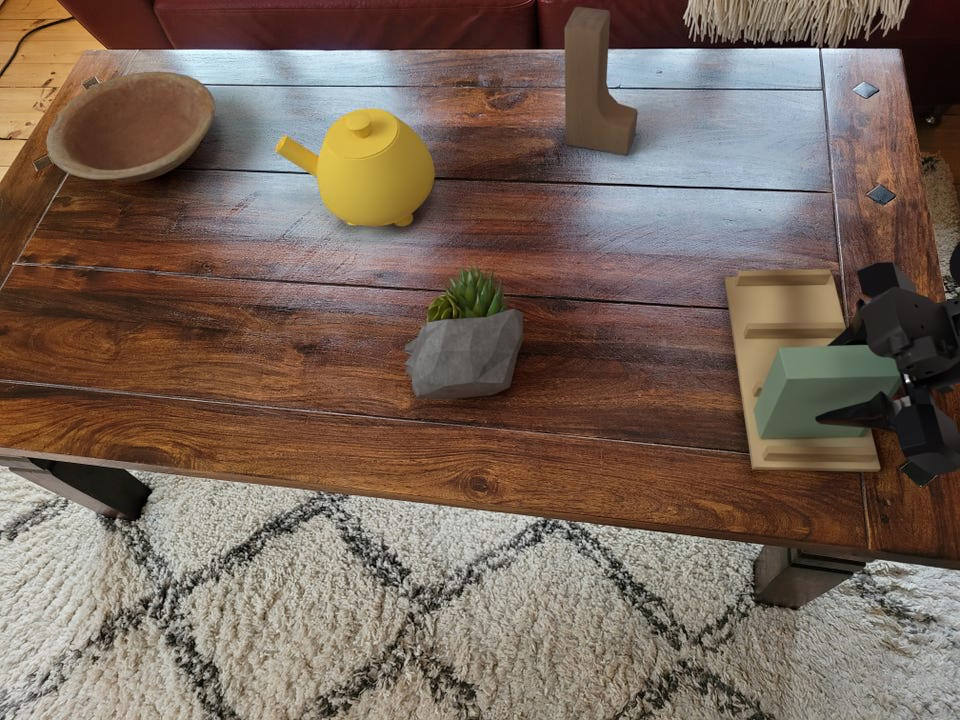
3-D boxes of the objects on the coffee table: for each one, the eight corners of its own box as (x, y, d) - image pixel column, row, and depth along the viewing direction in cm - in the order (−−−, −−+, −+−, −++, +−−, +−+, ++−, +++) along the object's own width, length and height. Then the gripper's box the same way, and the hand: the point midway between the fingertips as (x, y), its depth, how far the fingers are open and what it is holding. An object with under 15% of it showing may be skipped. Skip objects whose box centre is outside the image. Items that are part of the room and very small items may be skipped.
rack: (830, 279, 80) (838, 264, 78) (878, 472, 68) (889, 461, 66) (724, 280, 82) (729, 266, 79) (752, 469, 69) (758, 459, 67)
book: (854, 406, 71) (894, 343, 62) (864, 437, 69) (907, 375, 60) (752, 409, 72) (778, 346, 63) (759, 439, 70) (787, 379, 61)
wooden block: (636, 134, 96) (648, 13, 81) (627, 156, 94) (638, 36, 79) (574, 124, 98) (574, 4, 83) (564, 145, 96) (563, 27, 81)
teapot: (286, 241, 93) (245, 165, 81) (314, 159, 101) (280, 79, 89) (429, 244, 90) (408, 165, 78) (447, 160, 97) (430, 76, 86)
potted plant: (387, 401, 74) (389, 272, 78) (483, 412, 82) (481, 294, 85) (447, 378, 65) (445, 233, 69) (550, 392, 72) (543, 260, 76)
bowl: (213, 211, 97) (186, 169, 91) (58, 221, 100) (21, 181, 93) (245, 101, 110) (224, 57, 103) (106, 112, 112) (76, 70, 105)
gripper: (929, 192, 55) (752, 277, 65) (1000, 401, 45) (779, 459, 56) (984, 256, 60) (813, 324, 71) (1057, 452, 51) (846, 496, 62)
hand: (812, 393), depth 65 cm, fingers closed on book, 5 cm apart
